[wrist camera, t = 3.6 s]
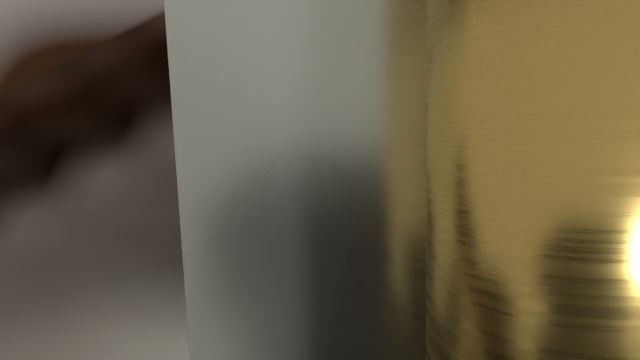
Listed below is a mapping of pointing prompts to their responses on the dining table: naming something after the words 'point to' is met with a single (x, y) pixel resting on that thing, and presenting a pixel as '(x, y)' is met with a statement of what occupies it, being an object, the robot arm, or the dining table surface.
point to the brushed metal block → (408, 178)
